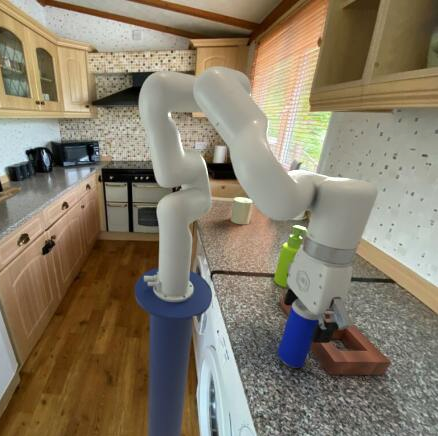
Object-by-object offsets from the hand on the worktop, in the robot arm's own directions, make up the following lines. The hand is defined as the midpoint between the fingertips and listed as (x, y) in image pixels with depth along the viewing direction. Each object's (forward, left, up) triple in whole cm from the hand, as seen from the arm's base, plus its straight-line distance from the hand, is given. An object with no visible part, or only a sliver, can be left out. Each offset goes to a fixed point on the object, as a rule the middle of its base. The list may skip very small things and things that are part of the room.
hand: (304, 321), depth 50 cm
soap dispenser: (+13, +27, -11) cm, 32 cm away
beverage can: (0, 0, -11) cm, 11 cm away
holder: (+12, +7, -11) cm, 18 cm away
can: (+16, +78, -11) cm, 81 cm away
